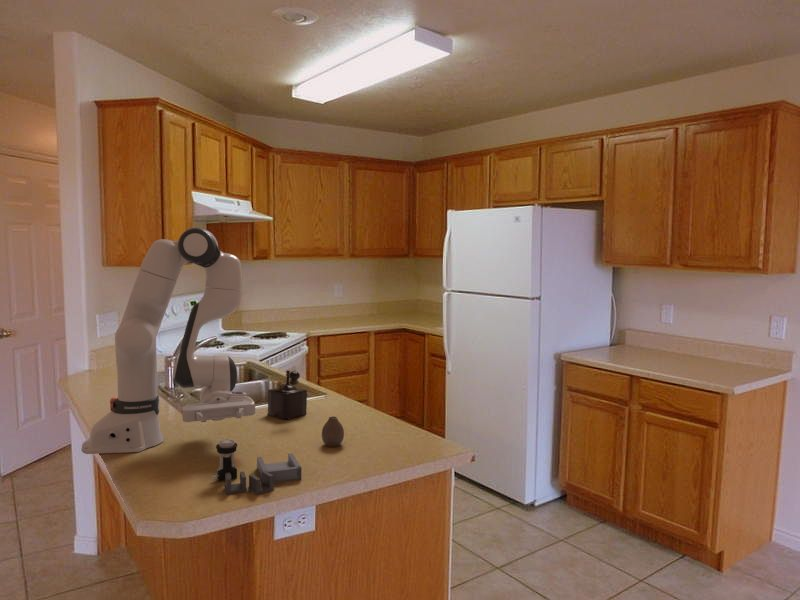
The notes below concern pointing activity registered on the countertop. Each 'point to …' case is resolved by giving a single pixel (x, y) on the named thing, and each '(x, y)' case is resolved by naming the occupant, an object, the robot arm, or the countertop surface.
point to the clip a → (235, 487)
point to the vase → (332, 432)
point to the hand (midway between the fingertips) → (221, 417)
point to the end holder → (281, 469)
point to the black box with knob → (287, 399)
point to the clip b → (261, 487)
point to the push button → (226, 460)
